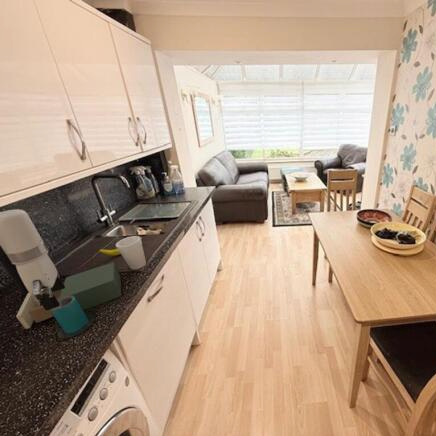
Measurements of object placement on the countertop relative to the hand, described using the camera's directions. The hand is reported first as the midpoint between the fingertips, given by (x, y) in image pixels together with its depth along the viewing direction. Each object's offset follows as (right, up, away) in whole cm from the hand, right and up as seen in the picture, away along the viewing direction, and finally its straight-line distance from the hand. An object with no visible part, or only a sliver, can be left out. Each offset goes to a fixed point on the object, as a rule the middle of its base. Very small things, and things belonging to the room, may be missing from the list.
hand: (56, 298), depth 75 cm
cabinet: (-3, -5, +19) cm, 20 cm away
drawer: (-13, -8, +13) cm, 20 cm away
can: (+1, -11, +5) cm, 12 cm away
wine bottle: (-33, -5, +25) cm, 42 cm away
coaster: (+1, -11, +6) cm, 13 cm away
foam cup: (+3, +3, +36) cm, 36 cm away
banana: (-11, +7, +47) cm, 49 cm away
